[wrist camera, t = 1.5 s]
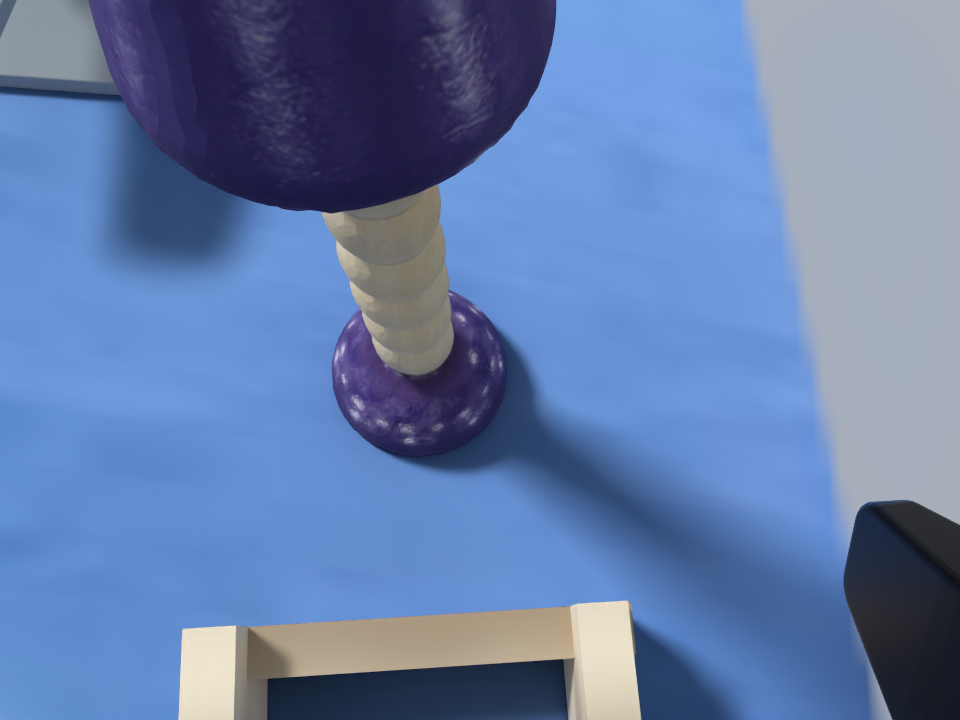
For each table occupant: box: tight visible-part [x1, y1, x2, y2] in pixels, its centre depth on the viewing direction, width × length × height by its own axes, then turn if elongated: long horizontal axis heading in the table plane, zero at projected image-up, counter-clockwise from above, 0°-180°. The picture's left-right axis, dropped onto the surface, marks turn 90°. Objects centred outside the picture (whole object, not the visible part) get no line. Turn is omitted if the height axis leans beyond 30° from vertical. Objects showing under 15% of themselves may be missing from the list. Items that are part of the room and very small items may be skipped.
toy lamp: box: [88, 0, 556, 456], centre depth 13 cm, size 5×5×17 cm
